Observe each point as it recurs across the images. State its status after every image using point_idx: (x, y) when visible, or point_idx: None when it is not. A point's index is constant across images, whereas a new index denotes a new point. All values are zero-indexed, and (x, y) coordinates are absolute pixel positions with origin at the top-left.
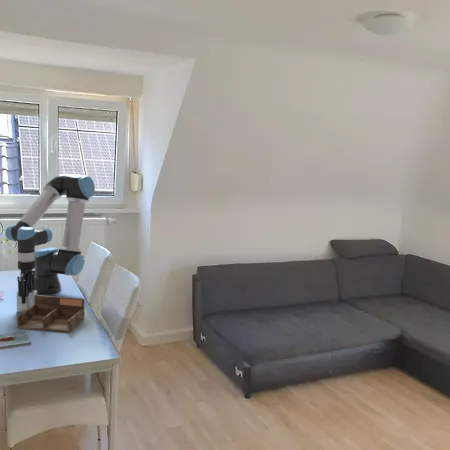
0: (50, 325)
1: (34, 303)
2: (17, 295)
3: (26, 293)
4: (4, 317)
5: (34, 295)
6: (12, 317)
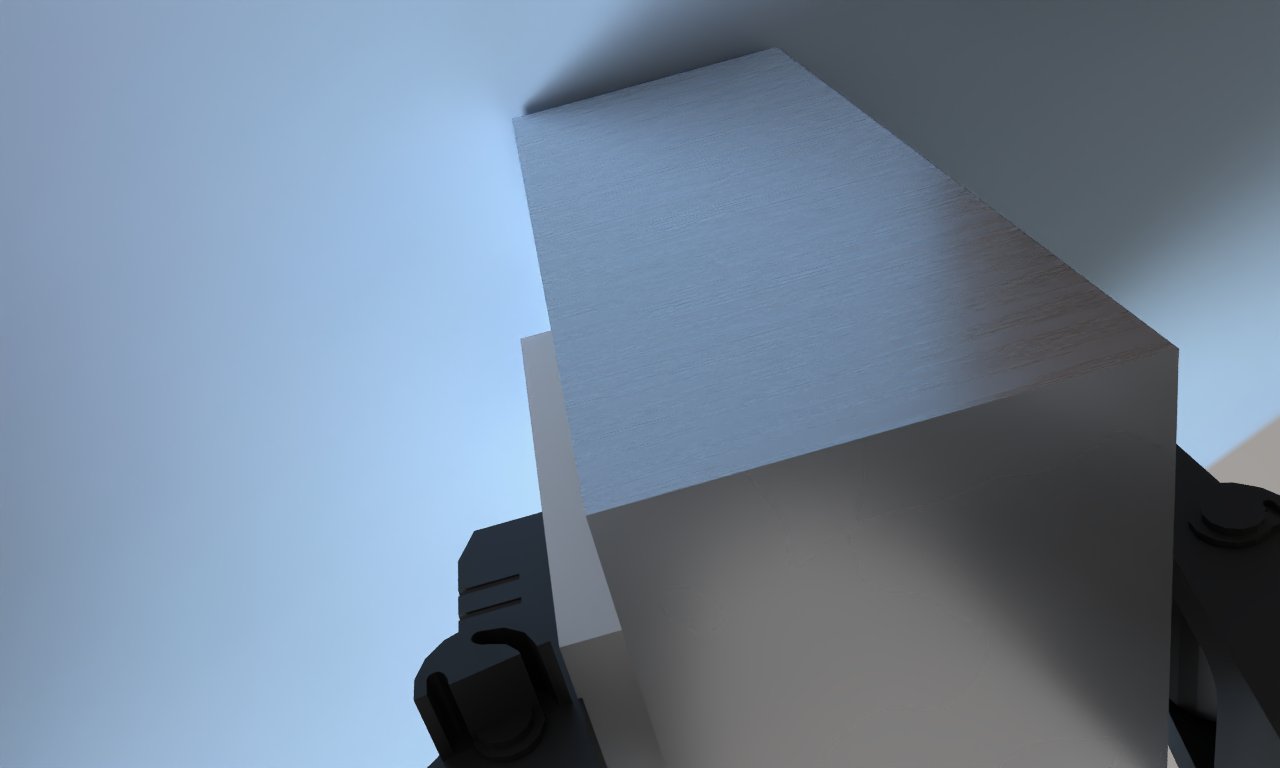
0: None
1: (753, 157)
2: None
3: (1237, 611)
4: (1225, 453)
5: (857, 309)
6: (1191, 312)
